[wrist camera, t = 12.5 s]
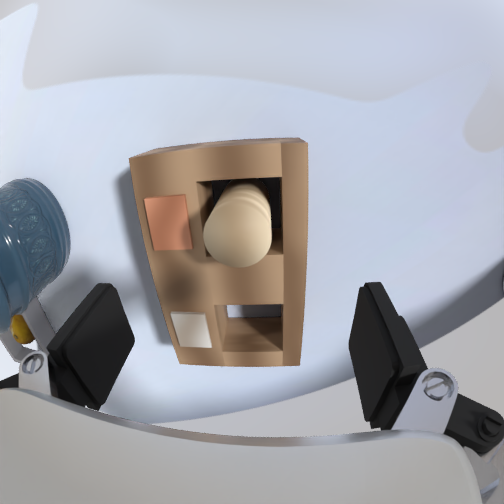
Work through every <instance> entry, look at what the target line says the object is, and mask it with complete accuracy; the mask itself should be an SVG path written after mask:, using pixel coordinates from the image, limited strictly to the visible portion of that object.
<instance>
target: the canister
mask: <svg viewBox="0 0 504 504" xmlns="http://www.w3.org/2000/svg"><path fill="white" fill-rule="evenodd" d="M69 253H70V235H69V229H68V225H67V221H66V218H65V216H64V213H63V211H62V209H61V207H60V205H59V203H58V201H57V200H56V198H55V197H54V195H53V194H52V193H51V192H50V190H49V189H48V188H47V187H46V186H44V185H43V184H42V183H40V182H39V181H37V180H34V179H30V178H24V179H16V180H13V181H11V182H8V183H6V184H5V185H4V186H2V187H1V188H0V334H4V333H6V332H7V331H8V330H9V328H10V325H11V318H12V317H13V316H14V315H19V314H22V313H23V312H25V311H26V309H27V308H28V305H29V303H30V302H31V301H32V300H33V299H34V298H35V297H36V296H37V295H38V294H39V293H40V292H41V291H42V290H43V289H44V288H45V287H46V286H47V285H48V284H49V283H51V282H52V281H54V280H55V279H56V277H58V276H59V274H60V273H61V271H62V270H63V268H64V266H65V265H66V263H67V261H68V258H69Z"/></svg>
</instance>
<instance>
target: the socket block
mask: <svg viewBox="0 0 504 504" xmlns="http://www.w3.org/2000/svg"><path fill="white" fill-rule="evenodd" d="M129 163H130V170H131V176H132V182H133V188H134V194H135V200H136V205H137V210H138V215H139V220H140V225H141V230H142V234H143V239H144V243H145V248H146V252H147V256H148V260H149V264H150V268H151V272H152V276H153V280H154V283H155V287H156V291H157V294H158V298H159V301H160V305H161V308H162V311H163V315H164V318H165V321H166V325H167V328H168V331H169V334H170V337H171V340H172V343H173V346H174V349H175V352H176V355H177V358H178V360H179V363H180V364H188V365H205V366H234V367H271V366H300V358H301V347H302V335H303V321H304V306H305V289H306V268H307V239H308V143H307V142H305V141H304V140H302V139H300V138H264V139H244V140H229V141H217V142H206V143H197V144H188V145H180V146H172V147H165V148H158V149H153V150H151V151H148V152H145V153H142V154H139V155H136V156H134V157H131V158H129ZM264 177H279V189H280V228H271V234H272V239H271V245H270V248H269V250H268V252H267V254H266V255H265V256H264V257H263V258H262V259H261V260H260V261H259V262H257V263H255V264H253V265H251V266H248V267H241V268H237V267H230V266H226V265H224V264H222V263H220V262H218V261H217V260H216V259H214V258H213V257H212V256H211V255H210V253H209V252H208V250H207V248H206V246H205V243H204V239H203V231H204V227H205V224H206V222H207V220H208V218H209V216H210V214H211V213H212V211H213V209H214V199H213V190H212V180H225V179H242V178H264ZM256 304H281V317H255V318H228V313H227V306H226V305H256Z"/></svg>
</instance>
